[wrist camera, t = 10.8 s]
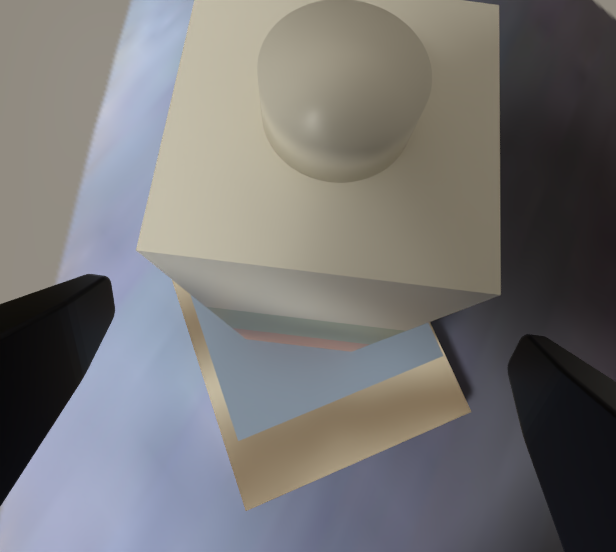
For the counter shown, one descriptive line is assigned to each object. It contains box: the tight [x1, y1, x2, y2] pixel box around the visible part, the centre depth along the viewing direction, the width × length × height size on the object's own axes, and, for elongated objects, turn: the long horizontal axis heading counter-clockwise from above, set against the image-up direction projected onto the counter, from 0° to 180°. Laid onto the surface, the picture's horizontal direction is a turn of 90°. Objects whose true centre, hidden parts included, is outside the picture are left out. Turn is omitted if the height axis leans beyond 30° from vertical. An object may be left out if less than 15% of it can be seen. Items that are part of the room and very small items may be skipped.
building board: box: [172, 280, 471, 511], centre depth 20 cm, size 15×11×1 cm
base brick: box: [190, 294, 443, 441], centre depth 18 cm, size 9×9×2 cm
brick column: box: [136, 0, 501, 352], centre depth 11 cm, size 4×4×13 cm
